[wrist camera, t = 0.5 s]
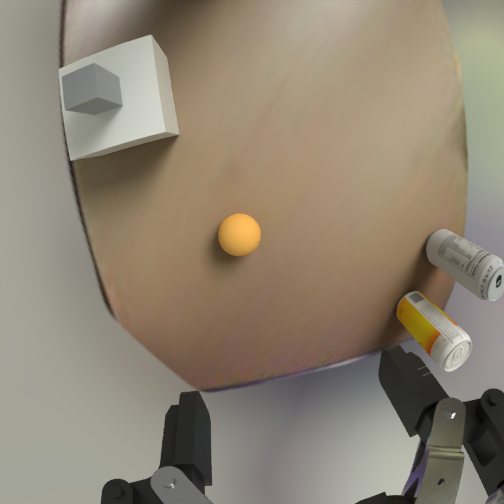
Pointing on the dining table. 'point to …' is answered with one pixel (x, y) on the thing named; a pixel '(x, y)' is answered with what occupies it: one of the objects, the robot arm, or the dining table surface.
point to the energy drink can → (467, 264)
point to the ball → (239, 234)
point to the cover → (117, 99)
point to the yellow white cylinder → (434, 330)
